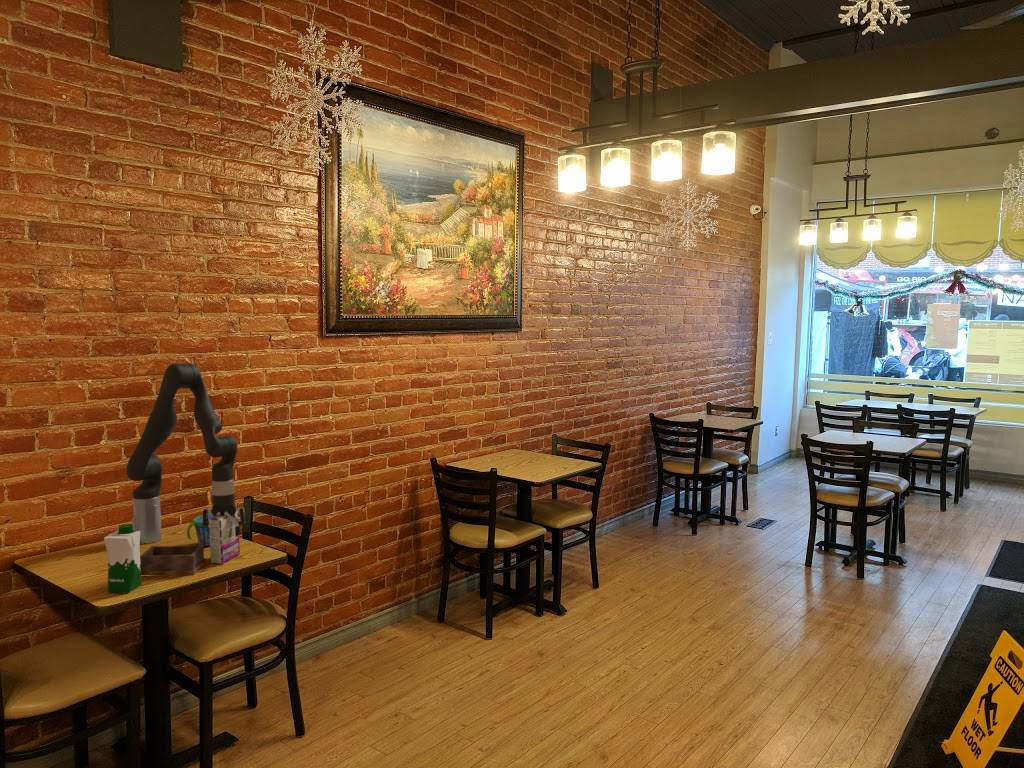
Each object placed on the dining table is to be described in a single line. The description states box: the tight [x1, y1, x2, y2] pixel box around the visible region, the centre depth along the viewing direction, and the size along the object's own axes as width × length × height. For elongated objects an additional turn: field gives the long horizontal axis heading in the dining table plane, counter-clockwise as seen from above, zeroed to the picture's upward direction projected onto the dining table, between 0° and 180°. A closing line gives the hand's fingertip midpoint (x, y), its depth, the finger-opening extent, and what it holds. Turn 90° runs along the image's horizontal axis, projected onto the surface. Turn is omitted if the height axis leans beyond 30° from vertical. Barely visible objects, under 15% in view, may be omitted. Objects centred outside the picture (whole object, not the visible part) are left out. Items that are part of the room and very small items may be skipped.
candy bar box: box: [209, 511, 241, 565], centre depth 260 cm, size 11×5×16 cm, turn 168°
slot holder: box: [140, 544, 206, 576], centre depth 250 cm, size 18×12×6 cm, turn 96°
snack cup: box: [186, 513, 214, 547], centre depth 276 cm, size 16×10×10 cm
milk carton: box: [103, 523, 142, 594], centre depth 231 cm, size 9×9×20 cm
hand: (224, 536), depth 260 cm, fingers open, 8 cm apart
